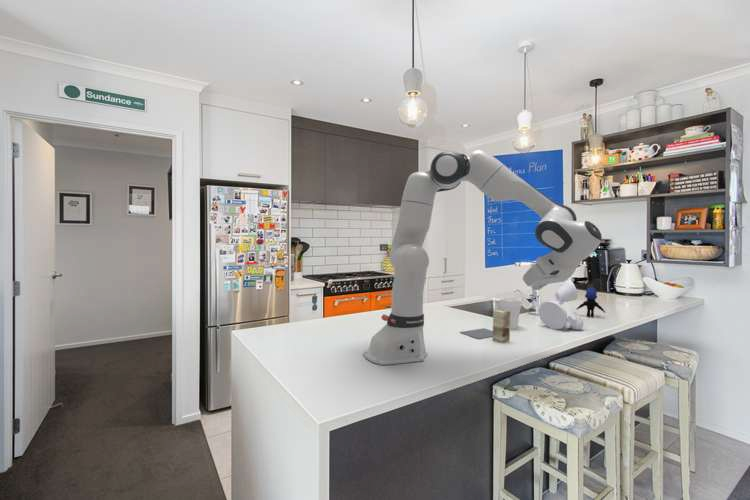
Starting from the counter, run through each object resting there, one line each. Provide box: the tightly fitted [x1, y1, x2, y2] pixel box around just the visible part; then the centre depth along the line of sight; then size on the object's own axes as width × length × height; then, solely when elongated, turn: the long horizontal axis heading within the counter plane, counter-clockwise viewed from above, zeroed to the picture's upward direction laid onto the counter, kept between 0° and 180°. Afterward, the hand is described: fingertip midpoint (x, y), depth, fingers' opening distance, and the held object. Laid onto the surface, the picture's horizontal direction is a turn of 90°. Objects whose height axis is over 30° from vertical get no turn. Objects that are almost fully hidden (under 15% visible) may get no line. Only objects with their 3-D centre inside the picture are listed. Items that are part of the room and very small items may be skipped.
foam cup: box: [498, 296, 522, 330], centre depth 169 cm, size 10×9×13 cm
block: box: [492, 308, 511, 344], centre depth 149 cm, size 4×5×12 cm
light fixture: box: [538, 279, 584, 331], centre depth 171 cm, size 25×16×18 cm
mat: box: [459, 327, 493, 340], centre depth 159 cm, size 14×11×1 cm
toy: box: [576, 287, 606, 318], centre depth 193 cm, size 13×6×15 cm, turn 58°
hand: (535, 288), depth 134 cm, fingers closed
